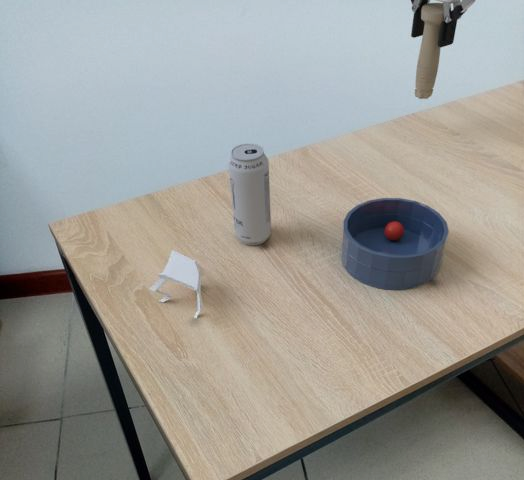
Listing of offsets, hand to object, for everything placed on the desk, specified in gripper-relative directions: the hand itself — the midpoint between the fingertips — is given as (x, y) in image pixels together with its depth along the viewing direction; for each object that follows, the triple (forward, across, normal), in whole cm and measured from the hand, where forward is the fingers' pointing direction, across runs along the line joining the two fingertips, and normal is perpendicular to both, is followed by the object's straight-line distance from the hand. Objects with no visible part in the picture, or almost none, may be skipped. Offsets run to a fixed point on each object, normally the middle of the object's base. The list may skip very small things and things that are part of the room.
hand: (431, 39), depth 96 cm
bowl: (+18, -28, +30) cm, 45 cm away
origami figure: (+18, -19, +61) cm, 67 cm away
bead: (+16, -26, +28) cm, 41 cm away
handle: (+10, 0, 0) cm, 10 cm away
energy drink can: (+18, -11, +45) cm, 50 cm away
